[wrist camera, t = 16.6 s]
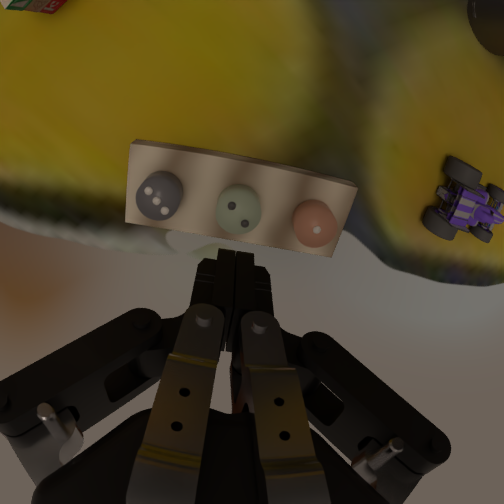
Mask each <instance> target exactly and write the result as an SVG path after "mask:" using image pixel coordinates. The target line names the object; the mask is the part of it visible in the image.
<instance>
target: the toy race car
mask: <svg viewBox="0 0 504 504" xmlns="http://www.w3.org/2000/svg"><path fill="white" fill-rule="evenodd" d="M444 173H445V174H446V175H448V176H449V177H451V182H450V184H449V186H448V187H444V186H441V185H440V186H439V189H438V191H437V195H438V196H439V197H440V198H442V202H441V205H440V208H437V207H433V206H429V207H428V209H427V212H426V214H425V216H424V218H423V220H422V223H423V225H424V226H425V227H426V228H427V229H428V230H429V231H430V232H432V233H433V234H435V235H437V236H439V237H441V238H443V239H446V240H453V239H454V237H455V235H456V233H457V231H458V230H461V231H464V232H467V233H469V232H471V233H472V234H473V235H474V236H475V237H477V238H478V239H480V240H481V241H483V242H486V243H489V242H490V240H491V238H492V236H493V233H492V232H491V230H492V228H493V226H494V224H501V223H503V221H504V216H502V215H501V214H500V211H501V209H502V207H503V205H504V191H503V190H502V189H500V188H498V187H497V186H495V185H493V184H490V185H489V187H488V190H487V192H486V189H487V188H486V187H484V186H483V185H481V184H479V182H480V179H481V177H482V173H481V172H480V171H479V170H477V169H476V168H474V167H472V166H471V165H469V164H467V163H465V162H463V161H462V160H460V159H458V158H456V157H453V156H449V158H448V160H447V163H446V165H445V168H444ZM452 181H454V182H456V183H457V184H456V186H455V188H453V189H451V188H449V187H450V185H451V183H452ZM489 195H490V196H491V197H493V201H494V200H495V201H494V204H493V207H491V205H492V203H493V201H492V203H491V205H488V204H487V202H488V200H489ZM443 201H445V202H447V207H446V210H444V209H441V207H442V204H443ZM496 202H497V204H496ZM495 204H496V207H495V209H494V206H495ZM449 210H450V212H449V213H448V211H449ZM479 221H480V222H482V224H481V223H479ZM483 223H484V225H483ZM486 223H488V224H487V225H486ZM466 224H469V225H470V226H471V227H470V229H469V230H470V231H469V230H468V229H467V228H466V227H465V226H466Z"/></svg>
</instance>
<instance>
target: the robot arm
mask: <svg viewBox="0 0 504 504" xmlns="http://www.w3.org/2000/svg"><path fill="white" fill-rule="evenodd" d="M467 13H468V19H469V23H470V26H471V28H472V31H473V33H474V34H475V36H476V38H477V39H478V41H479V42H480V44H481V45H482V46H483V47H484V48H485V49H486V50H488V51H489V52H490V53H493V54H495V55H500V56H504V0H468V4H467ZM235 253H236V256H235ZM270 281H271V280H270V274H269V273H268V271H267V270H266V268H265V267H262V266H255V265H254V254H253V253H247V252H241V251H237V252H236V251H234V250H227V249H221V248H219V249H218V256H217V260H215V259H208V258H204V259H203V260H202V261H201V262H200V263H199V264H198V267H197V272H196V277H195V282H194V286H193V291H192V296H191V302H190V306H189V308H188V309H187V310H186V312H185V313H184V314H182V315H180V316H178V317H174V318H166V319H161V317H160V316H159V315H158V314H157V313H156V312H155V311H153V310H150V309H147V308H136V309H132V310H130V311H128V312H126V313H124V314H122V315H121V316H119V317H117V318H115V319H113V320H111V321H109V322H108V323H106V324H104V325H102V326H100V327H98V328H97V329H95V330H93V331H92V332H89V333H87V334H86V335H84V336H82V337H80V338H78V339H76V340H75V341H73V342H71V343H69V344H67V345H65V346H64V347H62V348H60V349H58V350H56V351H54V352H53V353H51V354H49V355H47V356H46V357H44V358H42V359H40V360H38V361H36V362H34V363H33V364H31V365H29V366H27V367H25V368H24V369H22V370H20V371H18V372H16V373H15V374H13V375H11V376H9V377H7V378H5V379H3V380H2V381H0V432H1V433H2V435H3V436H4V437H5V438H6V439H7V440H8V441H9V443H10V444H11V446H12V448H13V450H14V451H15V453H16V454H17V457H18V458H19V460H20V462H21V463H22V465H23V467H24V468H25V470H26V471H27V473H28V474H29V476H30V477H31V479H32V480H33V482H34V483H35V485H36V486H37V487H36V489H35V491H34V493H33V496H32V501H31V504H403V502H404V501H405V500H406V498H407V497H408V496H409V495H410V493H411V492H412V491H413V489H414V488H415V486H416V485H417V484H418V482H419V480H420V479H421V478H422V476H424V475H425V474H427V473H428V472H430V471H431V470H433V469H434V468H436V467H438V466H439V465H441V464H442V463H444V462H445V461H446V460H447V459H448V458H449V456H450V453H451V445H450V441H449V439H448V438H447V436H446V435H445V434H444V433H443V432H442V431H441V430H440V429H438V428H437V427H436V426H435V425H434V424H433V423H431V422H430V421H429V420H428V419H426V418H425V417H424V416H423V415H422V414H421V413H419V412H418V411H417V410H416V409H415V408H414V407H412V406H411V405H410V404H409V403H408V402H406V401H405V400H404V399H403V398H402V397H400V396H399V395H398V394H397V393H396V392H395V391H394V390H392V389H391V388H390V387H389V386H388V385H386V384H385V383H384V382H383V381H382V380H380V379H379V378H378V377H377V376H376V375H375V374H374V373H372V372H371V371H370V370H369V369H368V368H367V367H365V366H364V365H363V364H362V363H361V362H360V361H358V360H357V359H356V358H355V357H354V356H352V355H351V354H350V353H349V352H348V351H347V350H346V349H344V348H343V347H342V346H341V345H340V344H339V343H338V342H336V341H335V340H334V339H333V338H332V337H330V336H329V335H327V334H325V333H322V332H318V331H313V332H308V333H306V334H305V335H304V336H303V337H299V336H296V335H293V334H290V333H288V332H286V331H285V330H283V329H282V328H281V327H280V325H279V323H278V321H277V319H276V318H275V317H274V311H273V301H272V292H271V282H270ZM225 343H226V351H227V352H232V360H231V365H230V384H231V400H232V414H226V413H223V412H220V411H217V410H214V409H211V408H210V403H211V397H212V391H213V385H214V379H215V373H216V368H217V364H218V362H219V357H220V352H221V351H224V348H225ZM160 379H161V380H160ZM159 380H160V383H159V386H158V390H157V393H156V396H155V400H154V403H153V407H152V408H150V409H146V410H143V411H140V412H138V413H136V414H134V415H132V416H130V417H129V418H128V419H126V420H125V421H124V422H122V423H121V424H120V425H118V426H117V427H116V428H114V429H113V430H112V431H110V432H109V433H108V434H106V435H105V436H104V437H102V438H101V439H99V440H98V441H97V442H95V443H94V444H93V445H91V446H90V447H88V448H87V449H86V450H84V451H83V452H82V453H80V454H79V455H77V456H76V457H75V458H73V456H74V455H75V454H76V453H77V452H78V451H79V450H80V449H81V447H82V445H83V440H84V438H83V433H82V432H84V431H85V430H87V429H89V428H90V427H91V426H93V425H95V424H96V423H98V422H99V421H101V420H102V419H104V418H105V417H107V416H108V415H110V414H111V413H113V412H114V411H116V410H117V409H119V408H120V407H122V406H123V405H124V404H126V403H127V402H129V401H130V400H132V399H133V398H135V397H136V396H137V395H139V394H140V393H142V392H143V391H145V390H146V389H148V388H149V387H150V386H152V385H153V384H155V383H156V382H158V381H159ZM321 382H322V383H324V384H325V385H326V386H327V387H328V388H329V389H330V390H331V391H332V392H333V393H334V394H335V395H336V396H337V397H339V398H340V399H341V400H340V399H339V398H337V397H336V396H335V395H334V394H333V393H332V392H331V391H330V390H329V389H327V387H326V386H324V385H323V384H322V383H321ZM308 421H310V422H311V423H312V424H313V425H314V426H315V427H316V428H317V429H318V430H319V431H320V432H321V433H322V434H323V435H324V436H325V437H326V438H327V439H328V440H329V441H330V442H331V443H332V444H334V445H335V446H336V447H337V448H338V449H339V450H340V451H341V452H342V453H343V454H344V455H345V456H346V457H348V458H349V459H350V460H351V466H350V465H349V464H348V463H347V462H346V461H345V460H344V459H343V458H342V457H341V456H340V455H338V453H337V452H336V451H335V450H334V449H333V448H332V447H331V446H330V445H329V444H328V443H327V442H326V441H325V440H324V439H323V438H322V437H321V436H320V435H319V434H318V433H316V432H315V431H314V430H312V429H311V428H310V427H309V423H308ZM72 458H73V459H72Z"/></svg>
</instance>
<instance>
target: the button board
mask: <svg viewBox="0 0 504 504" xmlns="http://www.w3.org/2000/svg"><path fill="white" fill-rule="evenodd" d="M157 171H166V172H169V173H172V174H173V175H175V176H176V177H177V178H178V179H179V180H180V182H181V184H182V187H183V197H182V200H181V202H180V204H179V207H178V209H177V211H176V213H175V214H174V215H173V216H172V217H170V218H169V219H166V220H162V221H156V220H152V219H149V218H147V217H146V216H144V215H143V214H142V213H141V212H140V211H139V209H138V207H137V204H136V192H137V190H138V188H139V187H140V185H141V184H142V183H143V181H144V180H145V179H146V178H147V177H148V176H149V175H150V174H151V173H154V172H157ZM235 184H242V185H246V186H249V187H250V188H252V189H253V190H254V191H255V192H256V193H257V195H258V197H259V200H260V206H261V219H260V222H259V224H258V225H257V226H256V228H254V229H253V230H252V231H250V232H248V233H245V234H232V233H229V232H227V231H225V230H224V229H222V228H221V227H220V225H219V224H218V222H217V220H216V206H217V200H218V197H219V195H220V193H221V192H222V191H223V190H224V189H225V188H227V187H229V186H231V185H235ZM357 190H358V188H357V186H356V185H355V184H354V183H353V182H351V181H348V180H344V179H340V178H337V177H333V176H329V175H325V174H321V173H317V172H313V171H309V170H305V169H300V168H296V167H292V166H287V165H283V164H278V163H274V162H269V161H265V160H260V159H255V158H250V157H245V156H240V155H234V154H229V153H224V152H218V151H212V150H207V149H201V148H195V147H188V146H182V145H175V144H168V143H161V142H154V141H146V140H138V139H136V140H135V141H133V142H132V143H131V144H130V153H129V164H128V178H127V195H126V219H125V222H128V223H134V224H140V225H146V226H152V227H158V228H164V229H170V230H176V231H182V232H188V233H194V234H200V235H206V236H211V237H217V238H223V239H229V240H234V241H240V242H246V243H252V244H257V245H263V246H269V247H275V248H280V249H286V250H292V251H297V252H303V253H309V254H314V255H320V256H326V257H332V255H333V252H334V250H335V247H336V245H337V242H338V240H339V237H340V235H341V232H342V230H343V227H344V225H345V222H346V219H347V217H348V214H349V211H350V209H351V206H352V203H353V201H354V198H355V195H356V193H357ZM308 200H319V201H322V202H324V203H325V204H326V205H327V206H328V207H329V208H330V210H331V212H332V213H333V215H334V217H335V219H336V221H337V226H338V227H337V233H336V235H335V237H334V238H333V239H332V241H331V242H329V243H328V244H326V245H324V246H322V247H318V248H310V247H307V246H304V245H303V244H301V243H300V242H299V240H298V239H297V237H296V234H295V231H294V228H293V224H292V215H293V212H294V210H295V209H296V208H297V207H298V206H299V205H300V204H301V203H303V202H305V201H308Z"/></svg>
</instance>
